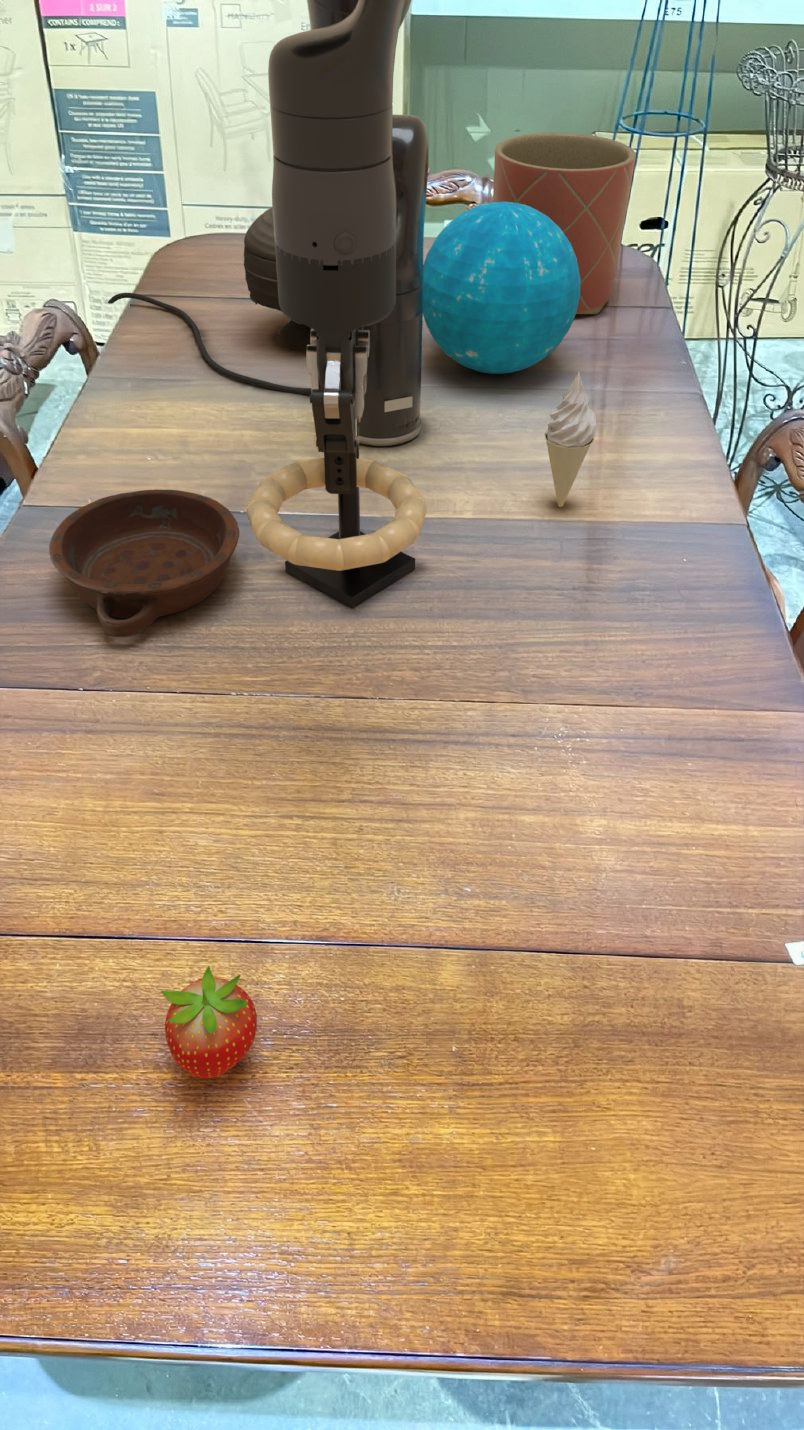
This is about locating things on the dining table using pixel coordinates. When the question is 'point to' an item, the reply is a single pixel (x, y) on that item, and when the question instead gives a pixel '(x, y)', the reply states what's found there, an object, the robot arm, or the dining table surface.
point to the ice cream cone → (569, 438)
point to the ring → (327, 549)
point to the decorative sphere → (500, 287)
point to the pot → (269, 278)
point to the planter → (573, 197)
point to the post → (355, 581)
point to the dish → (144, 554)
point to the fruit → (210, 1025)
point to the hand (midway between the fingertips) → (342, 480)
